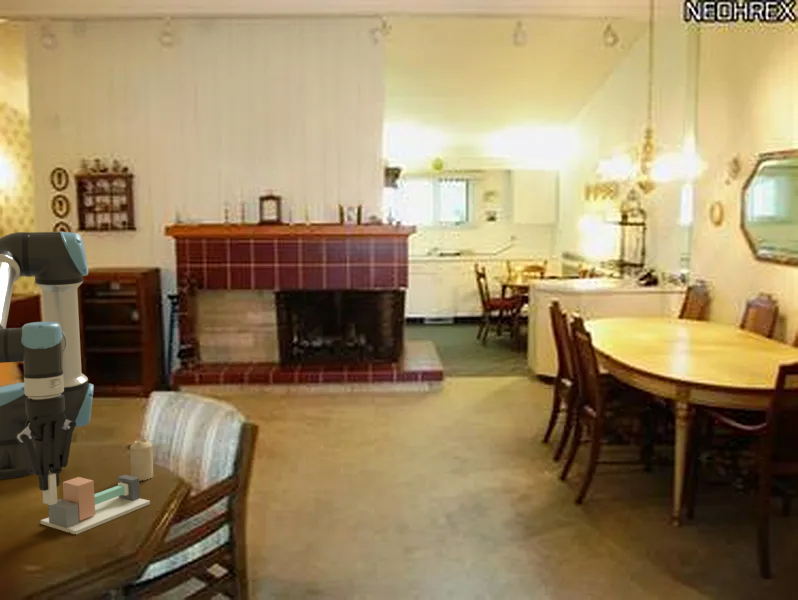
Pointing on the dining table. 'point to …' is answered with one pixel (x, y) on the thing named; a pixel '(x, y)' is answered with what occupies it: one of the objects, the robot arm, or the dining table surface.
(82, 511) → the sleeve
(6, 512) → the dining table surface
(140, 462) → the candle
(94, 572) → the dining table surface
